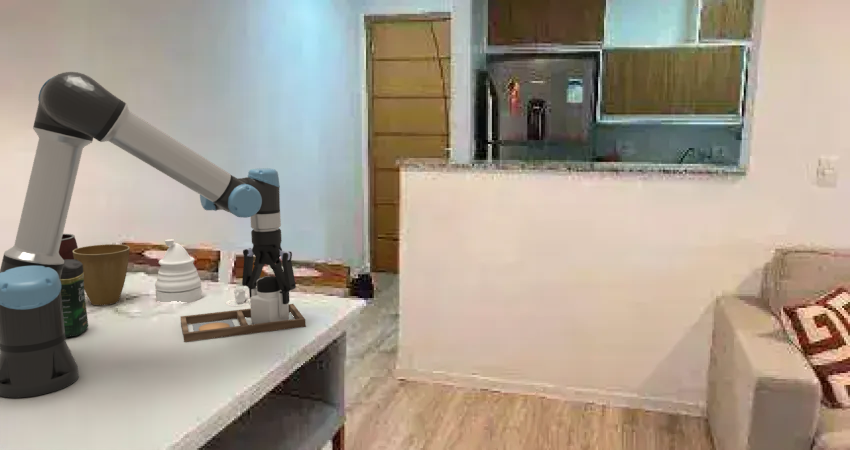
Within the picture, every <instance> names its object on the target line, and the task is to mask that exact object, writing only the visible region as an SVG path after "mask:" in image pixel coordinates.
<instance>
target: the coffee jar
mask: <svg viewBox="0 0 850 450" xmlns="http://www.w3.org/2000/svg"><path fill="white" fill-rule="evenodd" d="M60 281H61V299H62V309H63V319H64V329H65V339H67V338H70V337H77V336H79V335H81V334H83V333H85V331H86V330H87V329H88V327H89V320H88V314H87V313H88V312H87V305H86V292H85V290H84V272H83V264H82V263H81V262H80V261H78V260H77V259H66V260H64V265H63V270H62V274H61V279H60Z"/></svg>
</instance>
